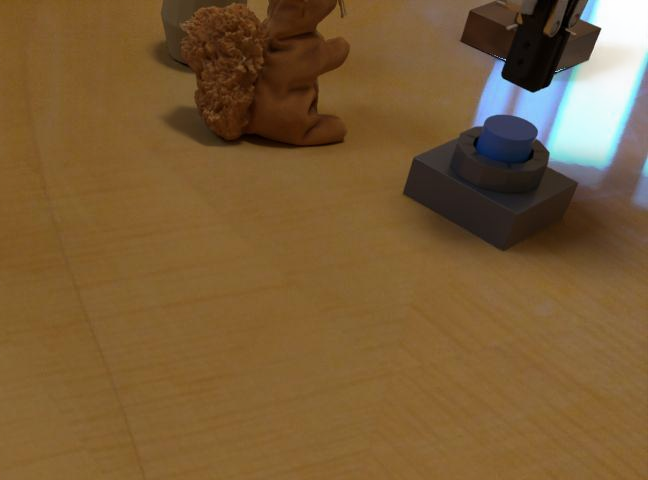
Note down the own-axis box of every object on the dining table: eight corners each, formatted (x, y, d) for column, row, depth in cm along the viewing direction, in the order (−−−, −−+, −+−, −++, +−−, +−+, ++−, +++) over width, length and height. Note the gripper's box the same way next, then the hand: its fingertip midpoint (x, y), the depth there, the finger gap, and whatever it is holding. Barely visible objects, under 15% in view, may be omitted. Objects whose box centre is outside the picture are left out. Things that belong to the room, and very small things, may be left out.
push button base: (562, 219, 80) (588, 160, 76) (502, 251, 76) (526, 192, 73) (463, 165, 85) (483, 107, 81) (402, 193, 81) (419, 135, 77)
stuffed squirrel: (354, 142, 86) (394, -21, 76) (204, 163, 83) (226, -6, 73) (302, 90, 92) (334, -69, 82) (161, 107, 89) (175, -56, 79)
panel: (592, 57, 100) (606, 25, 98) (538, 80, 96) (551, 47, 94) (510, 21, 105) (521, -11, 102) (456, 42, 101) (466, 9, 98)
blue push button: (538, 156, 77) (548, 130, 75) (507, 171, 75) (517, 145, 74) (496, 134, 79) (505, 109, 77) (465, 149, 77) (473, 123, 76)
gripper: (627, -194, 54) (504, 131, 68) (761, -224, 61) (624, 78, 74) (513, -229, 57) (418, 87, 71) (652, -253, 64) (540, 41, 78)
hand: (524, 82), depth 73 cm, fingers closed
